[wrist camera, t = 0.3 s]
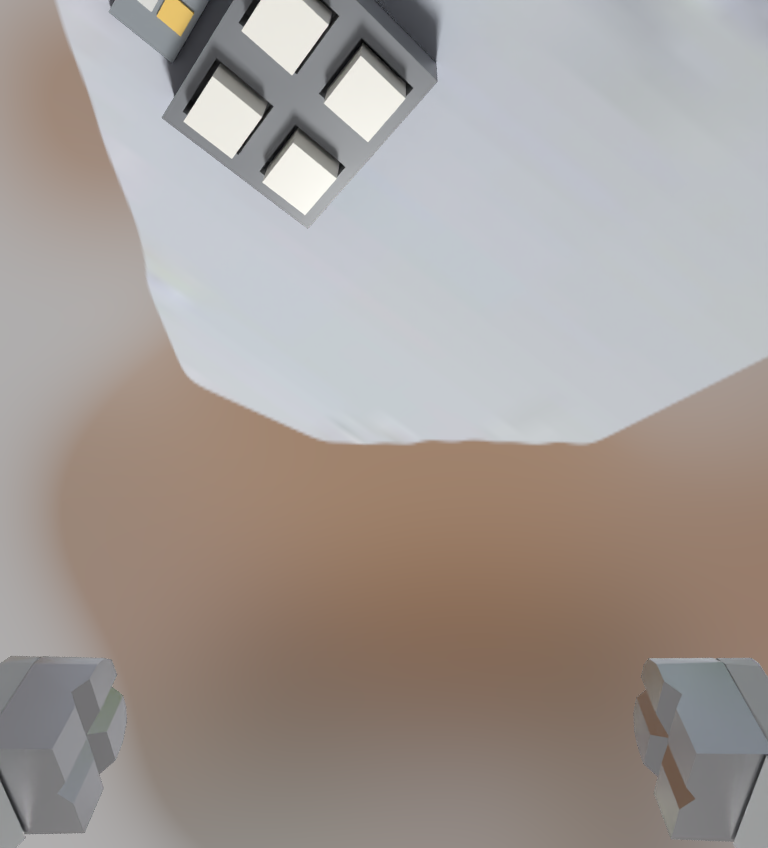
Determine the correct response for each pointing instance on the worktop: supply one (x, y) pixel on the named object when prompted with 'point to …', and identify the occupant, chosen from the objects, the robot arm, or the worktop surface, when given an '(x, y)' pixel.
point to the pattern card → (160, 21)
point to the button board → (304, 92)
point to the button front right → (365, 93)
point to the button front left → (287, 29)
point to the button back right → (301, 171)
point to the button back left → (226, 111)
